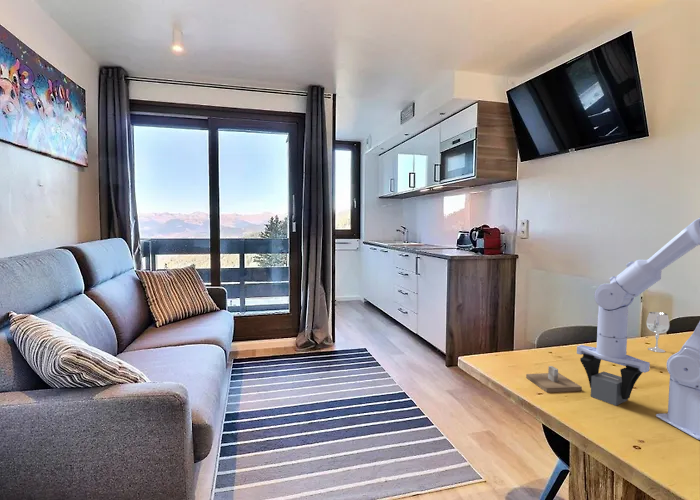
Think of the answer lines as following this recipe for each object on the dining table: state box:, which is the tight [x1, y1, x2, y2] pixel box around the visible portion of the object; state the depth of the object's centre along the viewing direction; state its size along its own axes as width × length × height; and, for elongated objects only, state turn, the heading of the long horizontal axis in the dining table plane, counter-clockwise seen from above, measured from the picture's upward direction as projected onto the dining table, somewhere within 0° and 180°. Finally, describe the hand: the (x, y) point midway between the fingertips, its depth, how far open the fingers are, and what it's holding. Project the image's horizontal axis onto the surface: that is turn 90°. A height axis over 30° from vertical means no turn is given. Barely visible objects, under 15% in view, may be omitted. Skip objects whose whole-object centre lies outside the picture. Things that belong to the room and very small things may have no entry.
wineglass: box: [646, 311, 670, 353], centre depth 125 cm, size 6×6×12 cm
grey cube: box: [590, 371, 629, 406], centre depth 90 cm, size 5×5×5 cm
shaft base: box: [525, 365, 583, 393], centre depth 98 cm, size 9×9×4 cm
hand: (609, 392), depth 90 cm, fingers open, 6 cm apart
